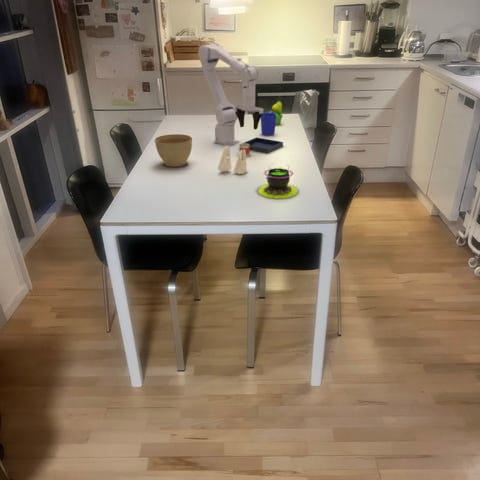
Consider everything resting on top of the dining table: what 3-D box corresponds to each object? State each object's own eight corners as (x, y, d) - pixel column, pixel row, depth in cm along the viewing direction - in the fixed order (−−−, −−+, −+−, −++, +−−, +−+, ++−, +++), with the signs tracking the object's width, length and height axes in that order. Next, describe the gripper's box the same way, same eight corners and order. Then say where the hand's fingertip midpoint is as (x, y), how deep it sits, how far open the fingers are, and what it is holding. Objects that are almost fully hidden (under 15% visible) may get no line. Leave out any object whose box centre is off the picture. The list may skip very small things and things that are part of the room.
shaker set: (217, 173, 200) (216, 146, 193) (219, 170, 203) (218, 144, 197) (245, 175, 198) (245, 148, 192) (246, 171, 202) (247, 145, 195)
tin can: (237, 155, 220) (237, 144, 217) (243, 153, 223) (243, 142, 220) (245, 157, 218) (245, 146, 215) (251, 155, 221) (251, 144, 218)
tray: (240, 148, 229) (240, 144, 228) (256, 142, 239) (256, 137, 237) (267, 154, 222) (267, 149, 221) (282, 146, 232) (283, 141, 230)
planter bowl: (198, 159, 216) (197, 135, 209) (185, 171, 203) (184, 145, 197) (165, 157, 219) (163, 132, 213) (151, 168, 206) (148, 142, 200)
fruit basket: (263, 121, 273) (263, 100, 267) (277, 120, 275) (278, 99, 269) (270, 126, 264) (270, 104, 258) (284, 125, 266) (285, 103, 260)
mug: (276, 130, 256) (277, 111, 250) (275, 136, 246) (276, 116, 241) (261, 130, 257) (261, 110, 251) (259, 136, 247) (260, 116, 241)
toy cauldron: (273, 181, 192) (274, 154, 185) (304, 190, 184) (307, 161, 177) (250, 192, 182) (250, 163, 176) (282, 201, 175) (283, 171, 168)
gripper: (267, 96, 216) (266, 128, 224) (240, 93, 223) (240, 124, 231) (258, 99, 211) (258, 131, 219) (232, 96, 218) (232, 127, 226)
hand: (248, 127), depth 225 cm, fingers open, 7 cm apart
